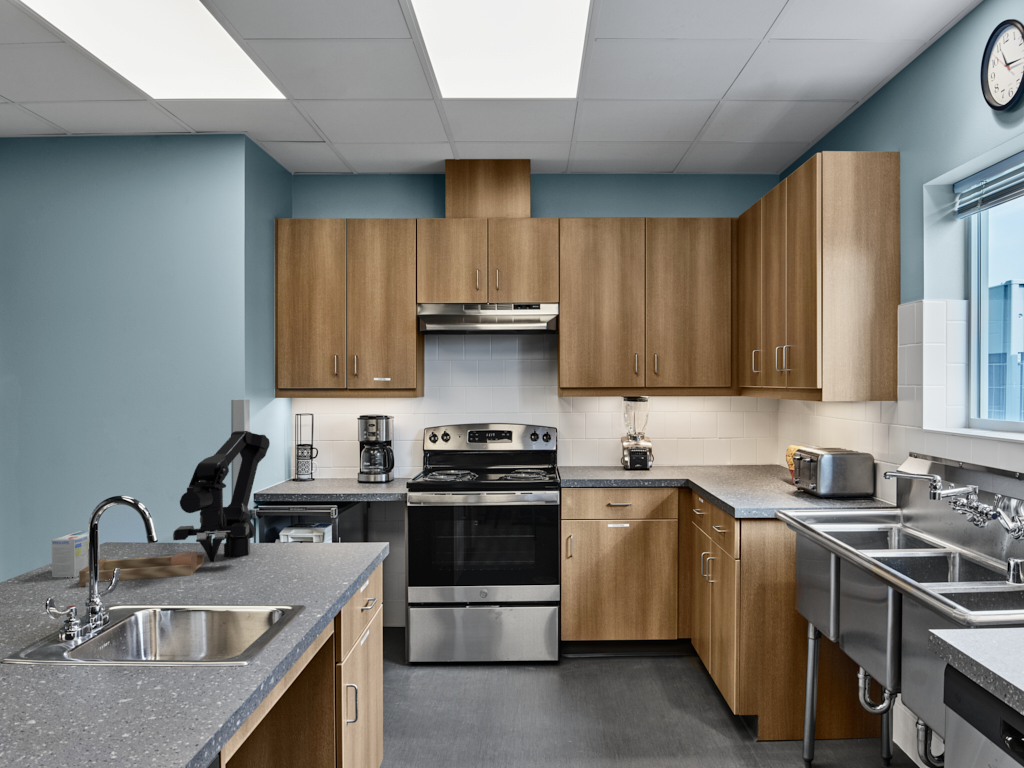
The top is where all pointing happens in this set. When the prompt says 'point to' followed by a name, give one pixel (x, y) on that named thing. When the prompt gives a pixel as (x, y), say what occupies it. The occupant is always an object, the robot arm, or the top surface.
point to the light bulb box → (70, 554)
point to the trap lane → (140, 568)
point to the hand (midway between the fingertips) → (212, 561)
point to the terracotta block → (185, 559)
